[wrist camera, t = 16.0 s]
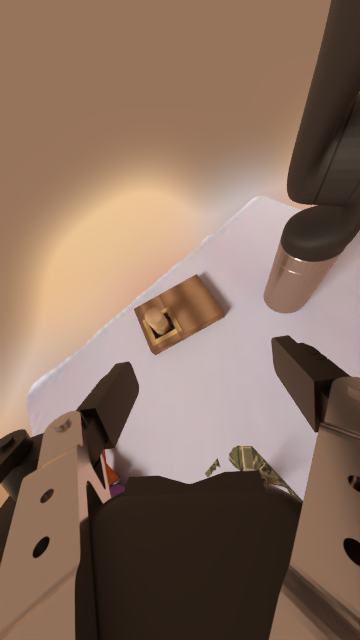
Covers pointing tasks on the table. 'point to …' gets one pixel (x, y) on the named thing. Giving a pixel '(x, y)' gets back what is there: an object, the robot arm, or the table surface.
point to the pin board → (180, 313)
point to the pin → (158, 321)
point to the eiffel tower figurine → (253, 466)
